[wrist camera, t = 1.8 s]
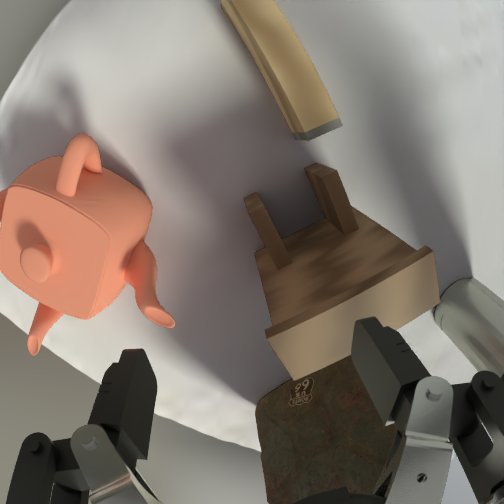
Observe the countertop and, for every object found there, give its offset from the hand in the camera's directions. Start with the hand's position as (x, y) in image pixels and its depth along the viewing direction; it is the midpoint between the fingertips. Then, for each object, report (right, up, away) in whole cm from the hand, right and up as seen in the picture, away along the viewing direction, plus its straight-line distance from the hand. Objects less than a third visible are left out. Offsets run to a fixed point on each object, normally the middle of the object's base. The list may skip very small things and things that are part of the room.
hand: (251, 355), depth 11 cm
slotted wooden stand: (+5, +7, +22) cm, 23 cm away
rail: (+2, +23, +14) cm, 27 cm away
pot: (-18, +7, +20) cm, 28 cm away
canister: (+9, -17, +32) cm, 37 cm away
